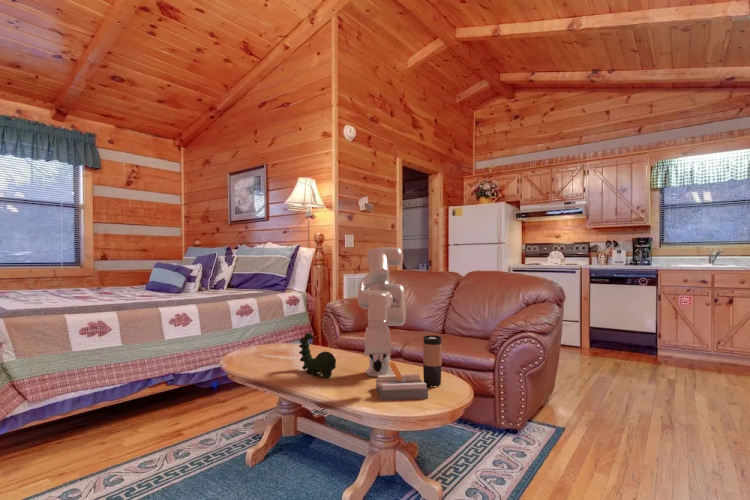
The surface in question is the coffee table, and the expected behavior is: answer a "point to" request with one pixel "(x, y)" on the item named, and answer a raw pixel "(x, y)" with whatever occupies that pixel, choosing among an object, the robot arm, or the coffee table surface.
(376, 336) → the robot arm
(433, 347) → the travel mug
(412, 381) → the breaker block
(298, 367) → the coffee table surface
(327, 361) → the toy figurine
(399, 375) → the breaker lever
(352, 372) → the coffee table surface
